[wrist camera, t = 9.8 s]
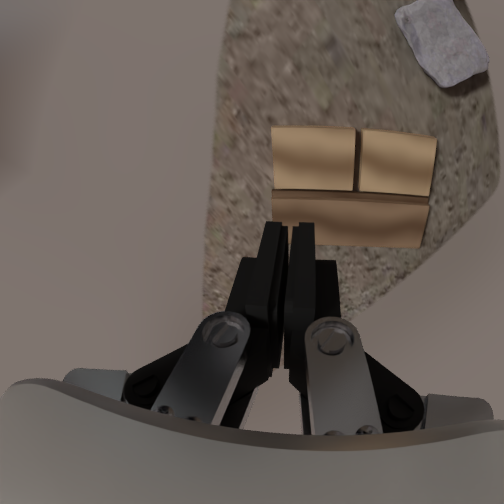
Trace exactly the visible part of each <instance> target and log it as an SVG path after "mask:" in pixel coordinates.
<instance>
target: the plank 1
mask: <svg viewBox="0 0 504 504" xmlns="http://www.w3.org/2000/svg"><path fill="white" fill-rule="evenodd" d="M271 132H272V148H273V165H274V184H275V189H325V190H350V191H352V189H353V175H354V157H355V128H354V127H337V126H272V127H271Z"/></svg>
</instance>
